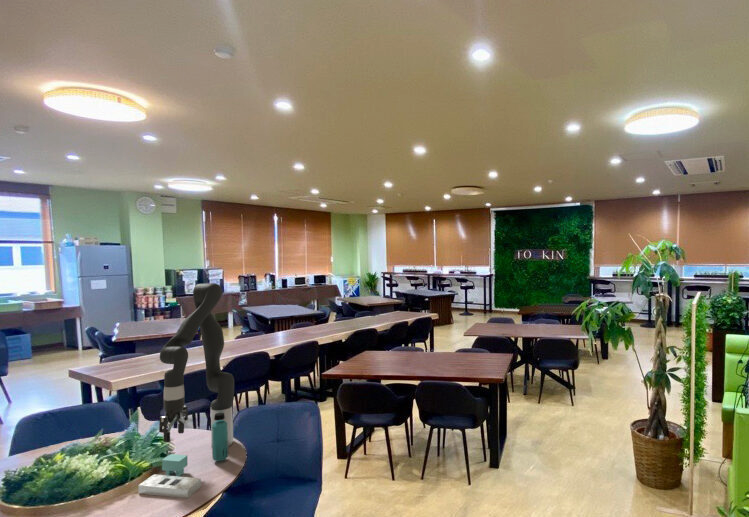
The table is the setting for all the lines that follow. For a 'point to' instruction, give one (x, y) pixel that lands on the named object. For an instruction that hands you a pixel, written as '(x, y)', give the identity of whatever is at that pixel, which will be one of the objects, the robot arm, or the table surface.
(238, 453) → the table surface
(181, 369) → the robot arm
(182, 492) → the pale grey flat slab
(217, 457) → the beverage bottle
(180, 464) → the clip
